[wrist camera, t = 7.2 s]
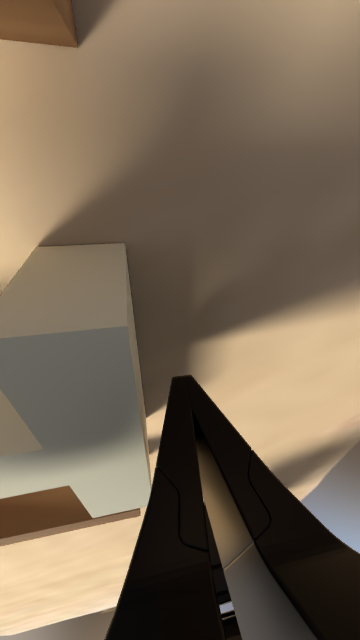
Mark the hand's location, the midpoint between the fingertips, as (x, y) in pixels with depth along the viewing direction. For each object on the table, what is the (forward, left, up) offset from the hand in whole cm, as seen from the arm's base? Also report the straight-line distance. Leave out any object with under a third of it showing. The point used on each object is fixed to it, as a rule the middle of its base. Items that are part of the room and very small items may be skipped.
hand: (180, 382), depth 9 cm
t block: (0, +5, -2) cm, 5 cm away
